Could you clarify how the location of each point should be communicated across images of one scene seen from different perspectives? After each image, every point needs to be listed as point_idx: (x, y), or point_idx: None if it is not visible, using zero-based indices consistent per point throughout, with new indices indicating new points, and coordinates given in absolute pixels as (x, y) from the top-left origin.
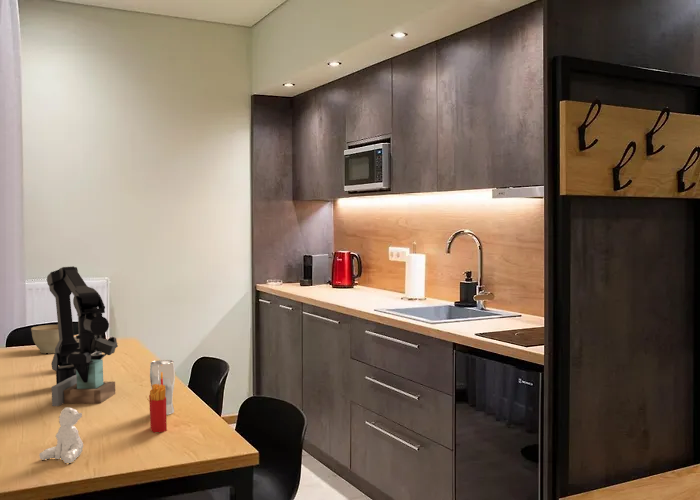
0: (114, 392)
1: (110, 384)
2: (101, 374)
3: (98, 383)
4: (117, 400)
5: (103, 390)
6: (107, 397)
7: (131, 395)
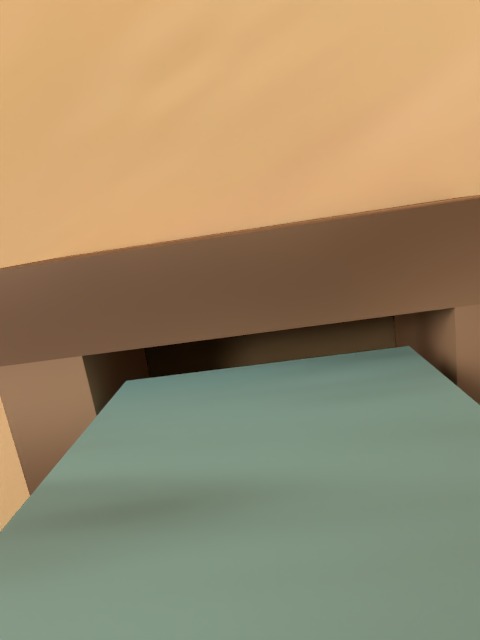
0: (74, 255)
1: (145, 247)
2: (141, 463)
3: (304, 379)
4: (308, 71)
5: (422, 205)
6: (274, 225)
7: (66, 23)
